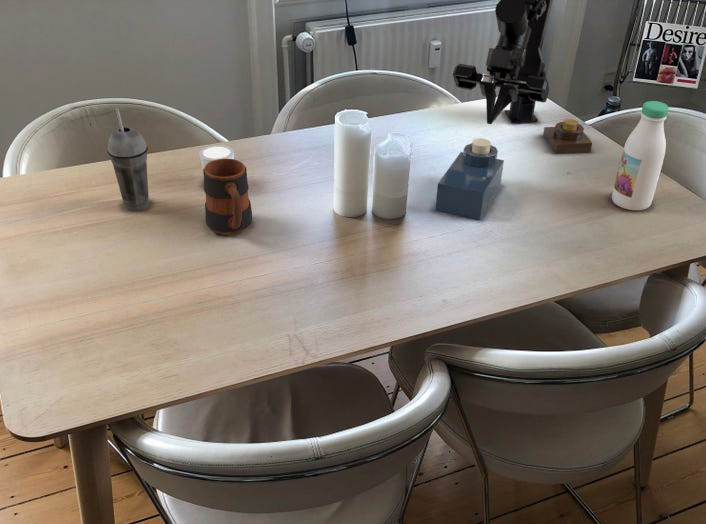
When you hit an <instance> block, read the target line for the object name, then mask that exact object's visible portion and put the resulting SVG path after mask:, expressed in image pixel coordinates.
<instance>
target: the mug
mask: <svg viewBox="0 0 706 524" xmlns="http://www.w3.org/2000/svg"><path fill="white" fill-rule="evenodd" d="M202 174H203V191H204V193H205V203H204V217H205V224H206V226H207V227H208V228H209V229H210V230H211V231H212V232H213V233H215V234H217V235H222V236H234V235H239V234H242V233H245V232H246V231H247V230H248V229H249V228H250V226H251V224H252V223H253V209H252V204H251V200H250V197H249V189H250V187H249V181H248V180H249V179H248V172H247V166H246V165H245V164H244V162H242V161H240V160H238V159H235V158H234V159H217V160H213V161H211V162H209V163H208V164H206V166H205V167H204V169H202Z"/></svg>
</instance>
